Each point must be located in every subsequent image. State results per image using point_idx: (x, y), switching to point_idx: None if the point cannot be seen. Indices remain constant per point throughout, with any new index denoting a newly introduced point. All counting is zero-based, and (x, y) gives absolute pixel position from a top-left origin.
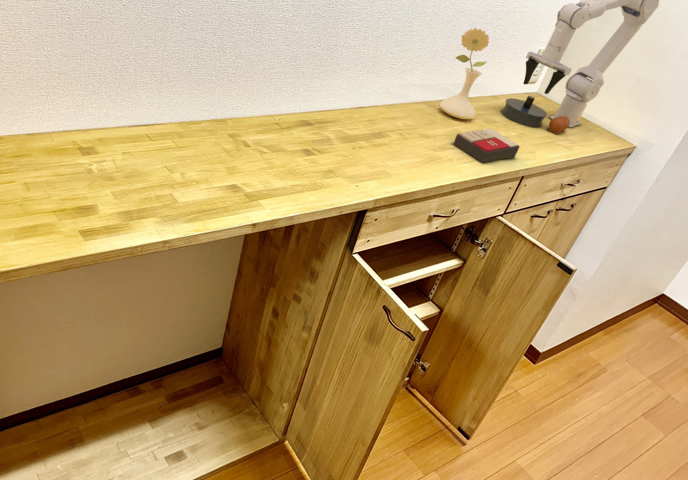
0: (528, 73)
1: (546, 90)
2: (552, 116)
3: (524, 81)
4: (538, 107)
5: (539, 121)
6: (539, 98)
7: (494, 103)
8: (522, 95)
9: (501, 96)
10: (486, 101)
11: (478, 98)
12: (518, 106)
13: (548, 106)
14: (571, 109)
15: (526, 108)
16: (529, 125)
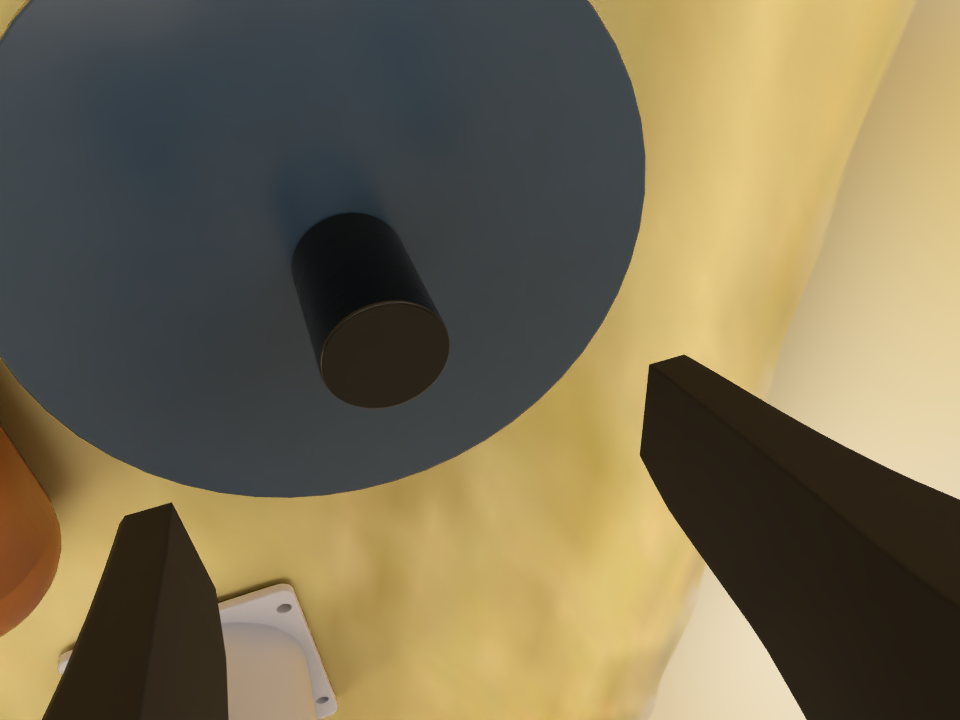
0: (835, 501)
1: (136, 563)
2: (289, 617)
3: (710, 374)
4: (321, 474)
5: None
6: (585, 703)
7: (710, 167)
8: (664, 614)
9: None
10: (786, 86)
11: (875, 35)
12: (391, 97)
13: (477, 698)
14: None
15: (304, 213)
16: None
